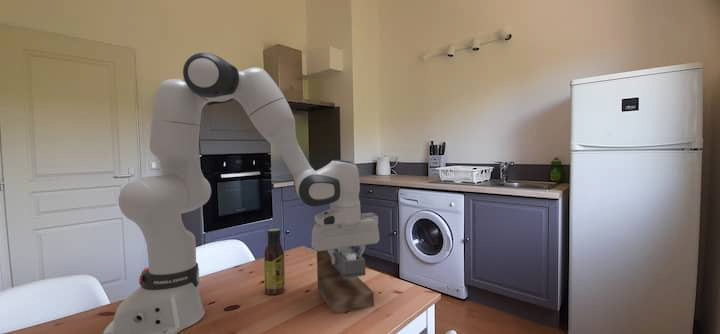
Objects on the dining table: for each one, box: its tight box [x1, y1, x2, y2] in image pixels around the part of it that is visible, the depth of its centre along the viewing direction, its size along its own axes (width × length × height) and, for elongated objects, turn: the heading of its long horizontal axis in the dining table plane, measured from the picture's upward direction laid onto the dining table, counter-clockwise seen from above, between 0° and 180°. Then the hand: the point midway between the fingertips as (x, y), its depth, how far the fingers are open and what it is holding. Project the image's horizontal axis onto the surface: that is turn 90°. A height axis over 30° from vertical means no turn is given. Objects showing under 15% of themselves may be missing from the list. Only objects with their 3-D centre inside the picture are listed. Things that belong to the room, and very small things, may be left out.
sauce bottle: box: [263, 228, 286, 295], centre depth 104 cm, size 6×6×20 cm
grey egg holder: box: [331, 247, 367, 279], centre depth 96 cm, size 6×14×5 cm, turn 21°
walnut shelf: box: [316, 246, 375, 315], centre depth 99 cm, size 12×18×16 cm, turn 21°
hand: (346, 261), depth 96 cm, fingers closed on grey egg holder, 6 cm apart
